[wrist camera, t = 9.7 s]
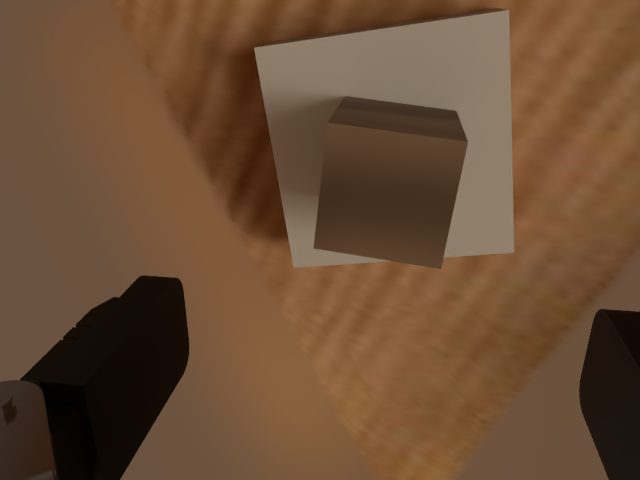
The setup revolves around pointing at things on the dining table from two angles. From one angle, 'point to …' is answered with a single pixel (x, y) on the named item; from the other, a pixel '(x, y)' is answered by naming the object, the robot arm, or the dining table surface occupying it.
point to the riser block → (400, 87)
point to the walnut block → (389, 181)
